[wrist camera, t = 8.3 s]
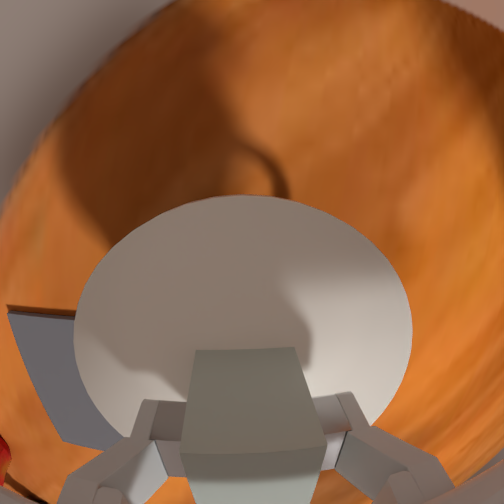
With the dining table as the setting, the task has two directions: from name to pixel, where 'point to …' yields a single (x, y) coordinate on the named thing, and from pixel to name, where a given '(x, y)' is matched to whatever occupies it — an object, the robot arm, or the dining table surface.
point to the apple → (4, 460)
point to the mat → (60, 378)
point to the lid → (243, 337)
